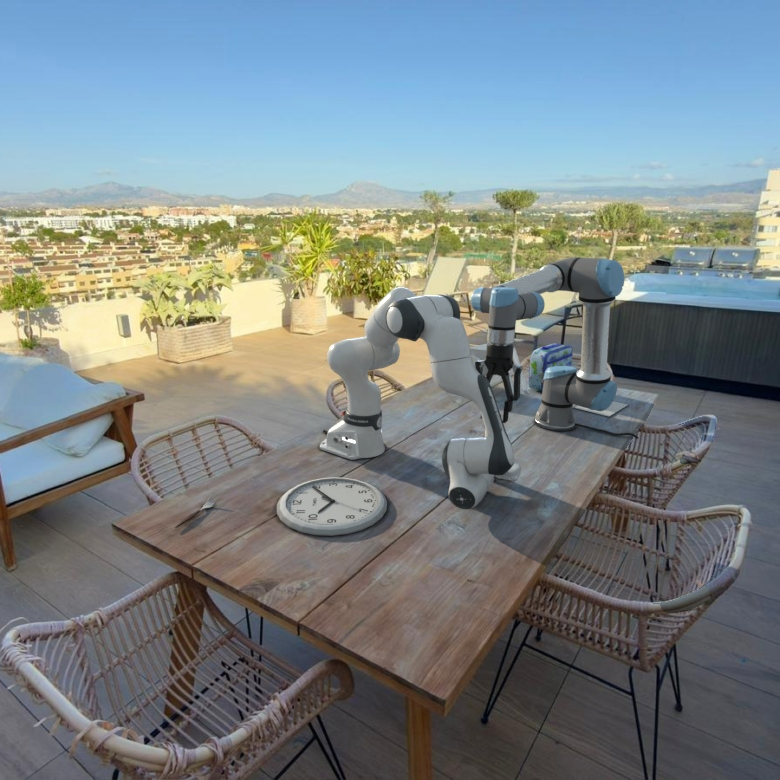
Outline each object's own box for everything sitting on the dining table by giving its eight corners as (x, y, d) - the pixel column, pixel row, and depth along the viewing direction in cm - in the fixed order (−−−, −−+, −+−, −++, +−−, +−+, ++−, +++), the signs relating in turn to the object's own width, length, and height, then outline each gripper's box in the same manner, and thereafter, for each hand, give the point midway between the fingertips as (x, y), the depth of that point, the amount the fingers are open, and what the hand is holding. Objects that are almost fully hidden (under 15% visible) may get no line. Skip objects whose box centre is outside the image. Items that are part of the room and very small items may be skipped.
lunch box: (544, 395, 239) (549, 351, 233) (524, 390, 247) (528, 347, 240) (571, 384, 257) (577, 343, 251) (552, 380, 264) (556, 339, 258)
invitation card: (608, 416, 214) (573, 407, 224) (608, 416, 214) (573, 408, 224) (628, 404, 229) (594, 396, 238) (628, 405, 229) (594, 397, 238)
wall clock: (392, 527, 129) (268, 531, 127) (391, 533, 130) (269, 537, 127) (383, 473, 158) (282, 475, 155) (383, 478, 158) (282, 480, 156)
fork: (171, 528, 130) (170, 521, 130) (212, 499, 145) (211, 492, 144) (179, 530, 129) (178, 523, 129) (220, 500, 144) (219, 494, 143)
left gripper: (516, 471, 143) (527, 453, 154) (445, 457, 151) (460, 440, 163) (514, 492, 144) (525, 472, 156) (444, 476, 153) (459, 459, 165)
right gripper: (537, 344, 147) (529, 421, 154) (473, 337, 156) (468, 410, 163) (530, 349, 141) (522, 429, 148) (464, 341, 150) (459, 417, 157)
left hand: (491, 456), depth 160 cm, fingers closed on bottle, 5 cm apart
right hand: (494, 419), depth 155 cm, fingers open, 6 cm apart
